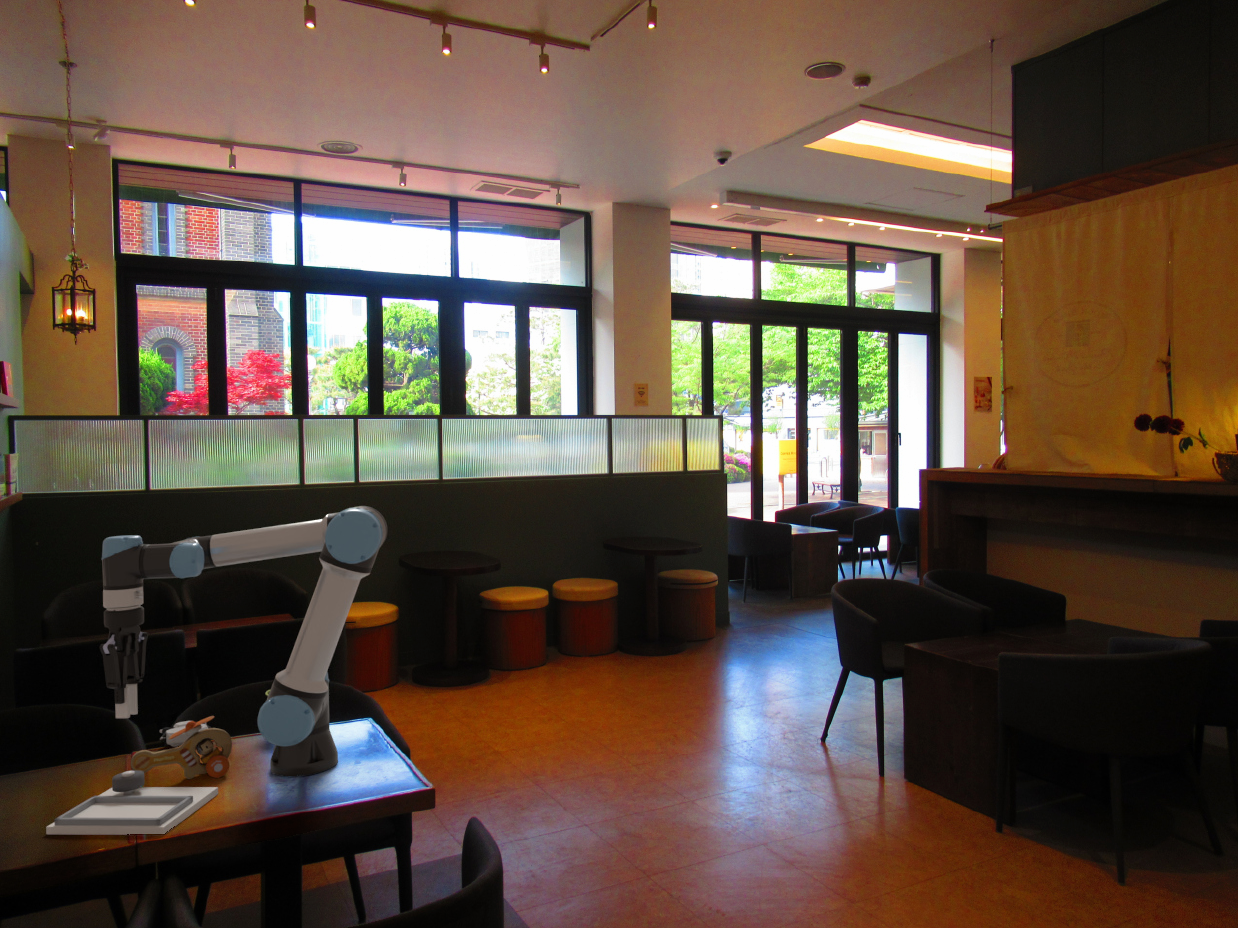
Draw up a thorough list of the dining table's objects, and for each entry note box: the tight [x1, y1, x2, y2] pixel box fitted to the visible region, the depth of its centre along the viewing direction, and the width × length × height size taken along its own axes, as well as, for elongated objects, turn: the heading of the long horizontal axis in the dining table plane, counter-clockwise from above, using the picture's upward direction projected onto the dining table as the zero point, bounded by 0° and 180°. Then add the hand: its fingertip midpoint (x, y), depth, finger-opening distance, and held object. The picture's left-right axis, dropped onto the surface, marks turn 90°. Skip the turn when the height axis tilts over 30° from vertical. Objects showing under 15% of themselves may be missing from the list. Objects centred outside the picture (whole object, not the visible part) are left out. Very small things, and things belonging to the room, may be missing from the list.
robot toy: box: [159, 720, 212, 748], centre depth 221 cm, size 12×4×15 cm
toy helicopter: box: [130, 715, 233, 780], centre depth 194 cm, size 8×21×14 cm, turn 123°
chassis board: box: [45, 786, 219, 836], centre depth 175 cm, size 24×20×3 cm
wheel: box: [111, 770, 145, 792], centre depth 182 cm, size 6×6×3 cm
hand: (126, 715), depth 182 cm, fingers open, 2 cm apart
